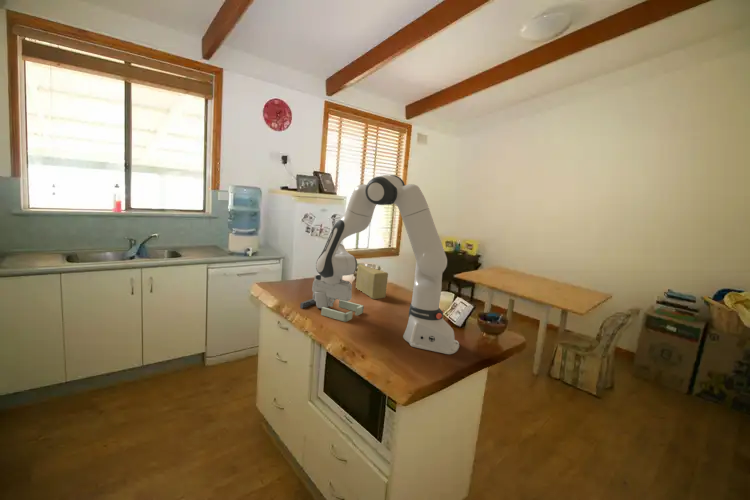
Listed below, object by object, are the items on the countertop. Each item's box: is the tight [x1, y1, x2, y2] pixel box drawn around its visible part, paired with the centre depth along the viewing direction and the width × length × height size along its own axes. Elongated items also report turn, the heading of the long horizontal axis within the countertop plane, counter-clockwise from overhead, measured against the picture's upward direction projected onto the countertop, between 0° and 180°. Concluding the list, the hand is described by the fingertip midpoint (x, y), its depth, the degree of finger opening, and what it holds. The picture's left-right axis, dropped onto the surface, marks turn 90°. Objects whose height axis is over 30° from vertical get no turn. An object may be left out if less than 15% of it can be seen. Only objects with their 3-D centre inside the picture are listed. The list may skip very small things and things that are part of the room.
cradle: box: [320, 300, 365, 323], centre depth 162 cm, size 13×16×4 cm
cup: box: [312, 292, 330, 309], centre depth 167 cm, size 11×8×8 cm
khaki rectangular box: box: [355, 264, 389, 300], centre depth 199 cm, size 22×10×15 cm, turn 39°
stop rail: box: [300, 297, 316, 310], centre depth 169 cm, size 2×14×2 cm, turn 154°
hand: (330, 306), depth 164 cm, fingers closed
